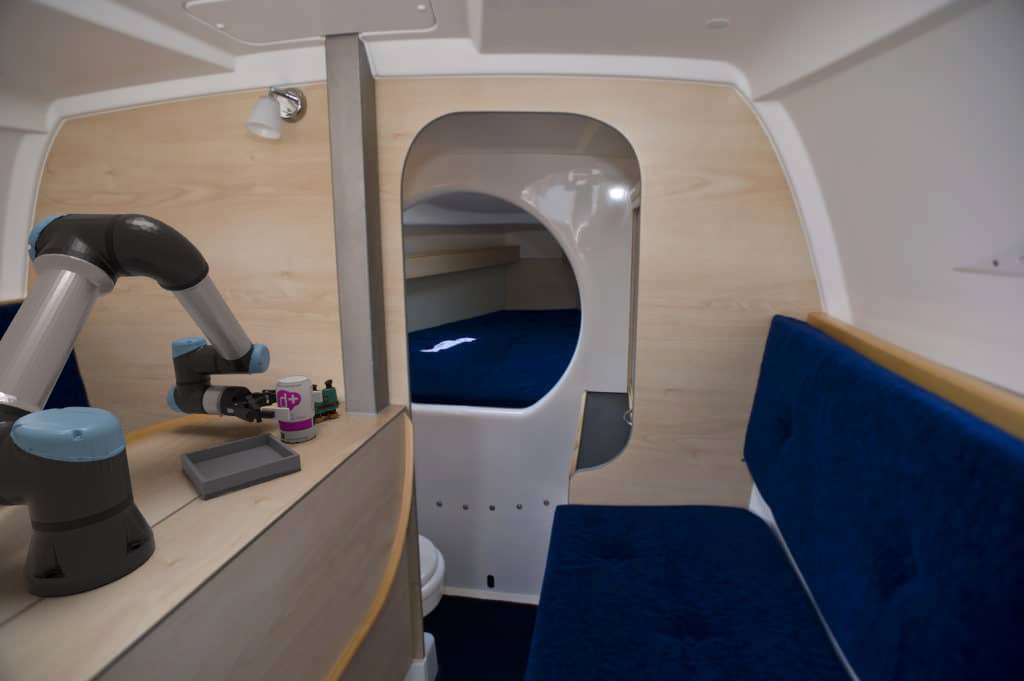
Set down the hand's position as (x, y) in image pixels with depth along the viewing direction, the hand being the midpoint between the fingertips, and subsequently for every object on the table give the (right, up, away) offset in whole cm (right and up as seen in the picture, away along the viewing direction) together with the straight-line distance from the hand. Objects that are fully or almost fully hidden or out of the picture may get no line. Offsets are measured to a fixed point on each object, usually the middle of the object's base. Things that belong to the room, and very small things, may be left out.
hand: (306, 405), depth 124 cm
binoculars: (-3, -6, +17) cm, 18 cm away
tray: (-7, -12, -16) cm, 21 cm away
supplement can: (-3, -8, +2) cm, 9 cm away
